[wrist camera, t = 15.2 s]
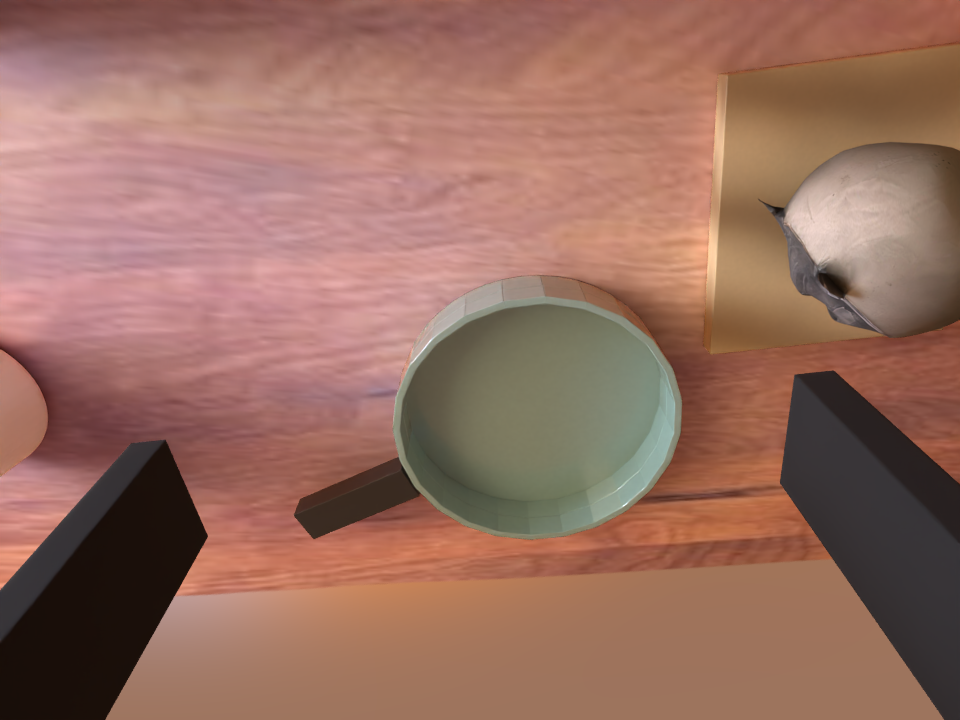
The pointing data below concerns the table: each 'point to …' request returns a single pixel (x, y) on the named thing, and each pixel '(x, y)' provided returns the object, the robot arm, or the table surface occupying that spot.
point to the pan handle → (355, 498)
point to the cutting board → (804, 175)
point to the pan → (536, 408)
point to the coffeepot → (19, 413)
